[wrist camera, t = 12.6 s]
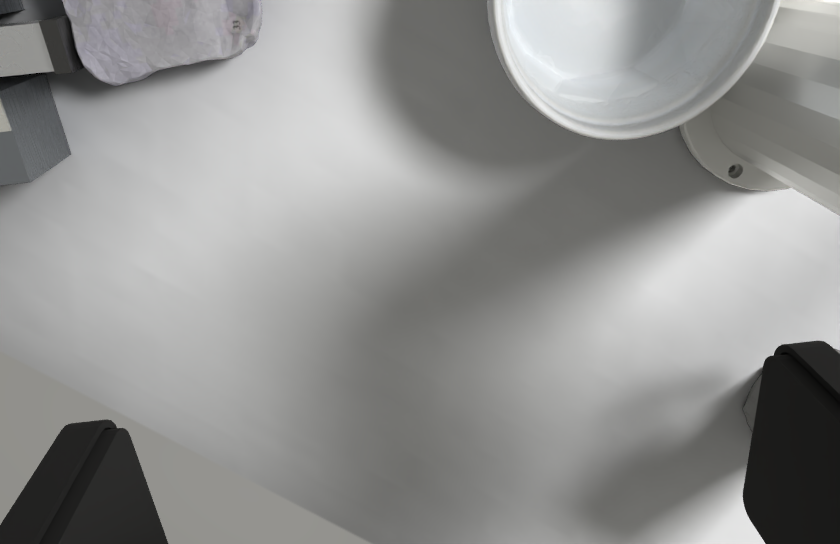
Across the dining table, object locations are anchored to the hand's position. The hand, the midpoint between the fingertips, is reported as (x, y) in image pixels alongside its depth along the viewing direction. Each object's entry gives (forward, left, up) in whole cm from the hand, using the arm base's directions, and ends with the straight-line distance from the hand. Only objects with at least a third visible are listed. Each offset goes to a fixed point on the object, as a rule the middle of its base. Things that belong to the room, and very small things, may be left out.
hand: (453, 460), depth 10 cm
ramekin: (-11, -4, -31) cm, 33 cm away
